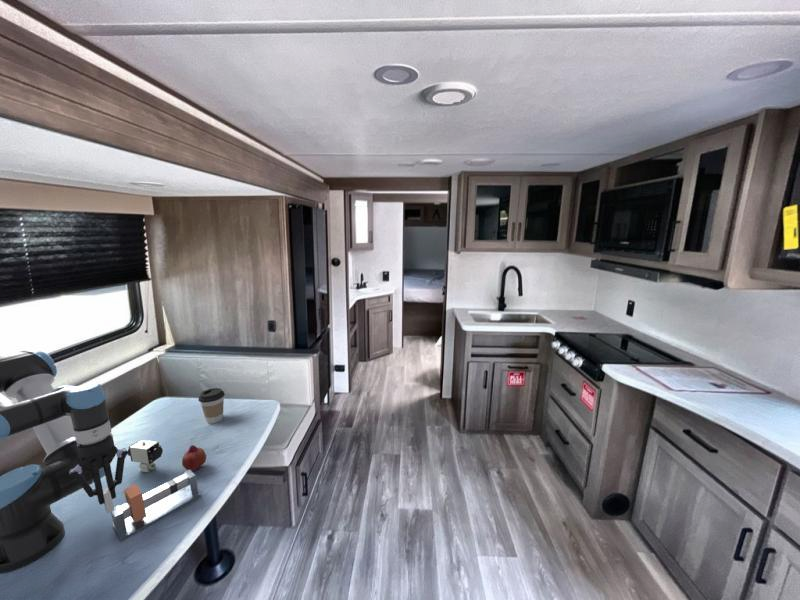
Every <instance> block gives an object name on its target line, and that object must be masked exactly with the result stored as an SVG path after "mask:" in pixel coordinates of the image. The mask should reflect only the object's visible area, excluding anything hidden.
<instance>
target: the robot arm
mask: <svg viewBox="0 0 800 600" xmlns="http://www.w3.org/2000/svg"><path fill="white" fill-rule="evenodd" d="M57 372H58V369H57V366H56V365H55V361H54V359H53V358H52V357H51V356H50V354H49V353H48V352H46V351H44V350H42V349H37V348H36V349H31V350H30V349H29V350H22V351H20V352H17V353H12V354H11V353H10V354H6V355H2V356H0V440H3V439H6V438H8V437H10V436H14V435H15V434H19V433H21V432H24V431H27V430H30V429H32V430H33V432H34V433H35V434H36V436H37V439H38V440H39V442H40V444H41V446H42V448H43V450H44V451H45V453H46V456H45V457H44V458H43V461H42V463H43V465H40V464H35V463H33V464H26V465H25V466H19V467H17V468H14V469H12V470H9V471H8V472H6V473H4V474H2V475H1V476H0V574H6V573H9V572H14V571H17V570H19V569H21V568H24V567H26V566H28V565H30V564H32V563H34V562H36V561H38V560H39V559H41V558H42V557H44V556H46V555H47V554H48V553H49V552H51V551H52V550H53V549H54V548H56V547H57V546H58V545H59V543H61V541H62V540H63V539H64V537H65V534H66V529H65V526H64V523H63V522H62V521H61V519H59V518H58V517H57V516H56V515H55V514H54V513H53V512H52V509H51V505H53V504H55V503H57V502H58V501H60V500H62V499H64V498H67V497H68V496H71V495H72V494H74V493H77V492H78V491H80V490H82V489H83V490H84V491H85V493H86V494H87V497H89V498H93V497H94V496H97V497H96V498H97V499H98V500H97V502H98V504H99V505H101V506H102V505H103V504H104V509H105V512H106V514H111V512H112V511H114V508H113V507H114V503H113V500H114V499H116V497H117V492H116V487H117V486H119V485H121V484H122V482H123V476H124V467H125V459H126V458H127V456H128V450H127V449H126V447H124V448H121V449H120V448H118V447H117V446H116V444H115V441H114V437H113V433H112V427H111V421H110V417H109V411H108V406H107V401H106V393H105V392H104V388H103V386H102V384H100V383H97V382H96V383H85V384H81V385H74V384H64V385H60V386H58V387H56V388H54V387H53V385H52V384H53V383H54V382H55V377H56V376H57V374H58V373H57ZM2 392H3V393H2ZM4 393H5V394H4ZM12 399H16V401H17V402H15V401H14V400H12ZM115 457H117V458H116V467H115V473H114V474H115V476H114V477H113V473H112V466H111V463H112V462H113V460H114V459H115ZM104 477H105V480H106V484H107V487H106V488H103V484H102V481H101V479H102V478H104ZM93 484H94V489H93V488H92V486H91V485H93Z"/></svg>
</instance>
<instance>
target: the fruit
mask: <svg viewBox="0 0 800 600" xmlns="http://www.w3.org/2000/svg"><path fill="white" fill-rule="evenodd" d="M206 460H207V454H206V452H205V450H204V449H203V448H202V447H196V445H193V444H192V445H190V446H189V448H188V450H187V451H186V452H185V453H184V455H183V457H182V461H181V464H182V467H183V468H184V469H185V470H186V471H188V470H191V471H192V472H193V471H196V470H198V469H199V468H200V467H202V466H203V465H204V464H205V462H206Z"/></svg>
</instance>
